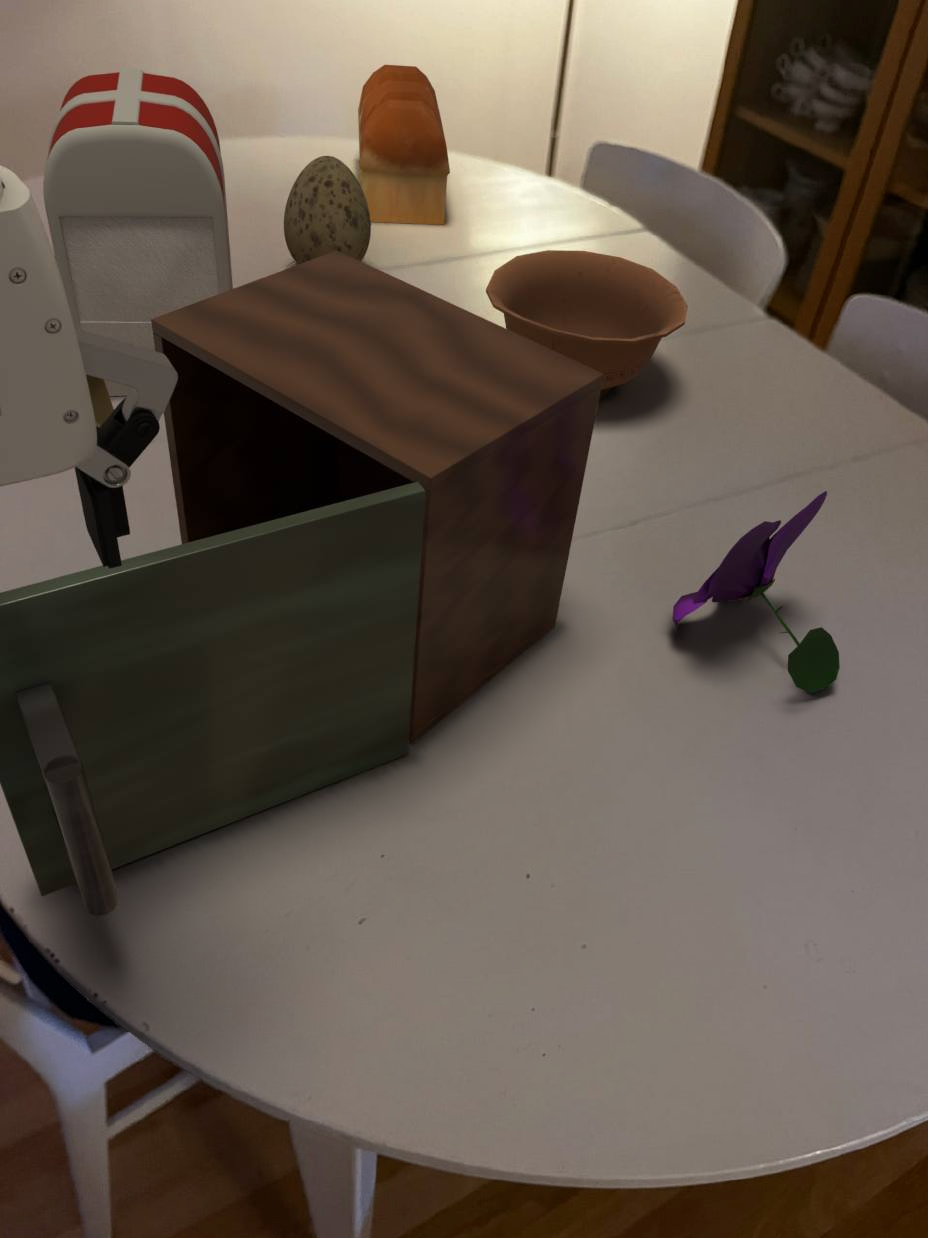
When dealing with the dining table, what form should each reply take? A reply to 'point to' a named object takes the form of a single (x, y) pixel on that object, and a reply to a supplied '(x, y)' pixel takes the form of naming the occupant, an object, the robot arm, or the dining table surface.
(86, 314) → the white box red top
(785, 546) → the flower
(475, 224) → the dining table surface
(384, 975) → the dining table surface
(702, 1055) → the dining table surface
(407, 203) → the bread
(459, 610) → the cupboard
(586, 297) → the bowl
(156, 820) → the cupboard door
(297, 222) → the decorative egg
